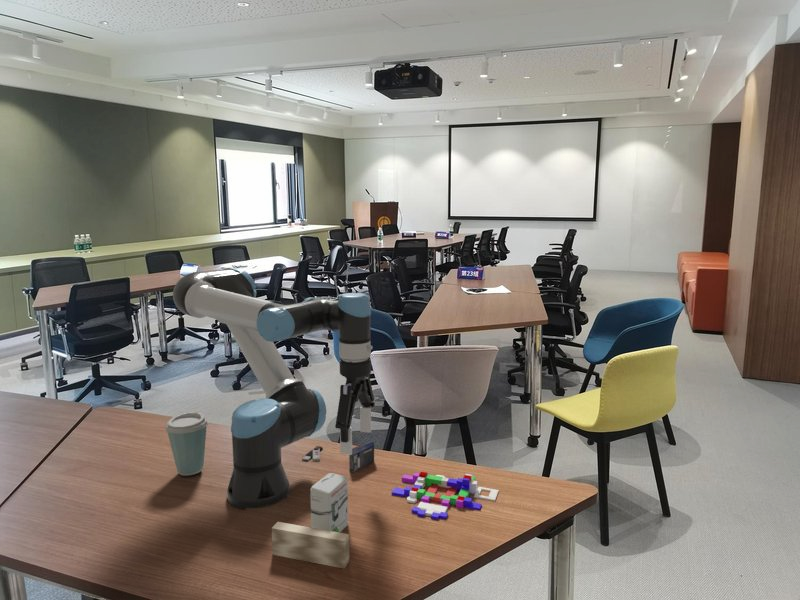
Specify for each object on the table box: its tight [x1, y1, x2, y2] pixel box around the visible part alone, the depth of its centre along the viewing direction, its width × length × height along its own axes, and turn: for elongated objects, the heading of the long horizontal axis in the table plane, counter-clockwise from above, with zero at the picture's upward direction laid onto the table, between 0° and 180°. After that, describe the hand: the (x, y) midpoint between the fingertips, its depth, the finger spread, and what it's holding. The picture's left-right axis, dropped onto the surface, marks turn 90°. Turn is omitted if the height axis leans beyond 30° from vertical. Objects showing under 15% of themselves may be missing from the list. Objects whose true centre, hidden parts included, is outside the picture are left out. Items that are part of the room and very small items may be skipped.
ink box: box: [309, 472, 349, 533], centre depth 125 cm, size 9×5×12 cm, turn 156°
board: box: [271, 521, 350, 569], centre depth 116 cm, size 16×2×6 cm, turn 74°
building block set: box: [391, 471, 499, 520], centre depth 141 cm, size 25×20×4 cm
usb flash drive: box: [301, 445, 324, 462], centre depth 164 cm, size 9×5×1 cm, turn 159°
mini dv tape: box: [348, 440, 375, 473], centre depth 157 cm, size 8×2×6 cm, turn 139°
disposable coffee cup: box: [165, 411, 208, 476], centre depth 153 cm, size 11×11×15 cm
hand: (356, 442), depth 139 cm, fingers open, 13 cm apart
